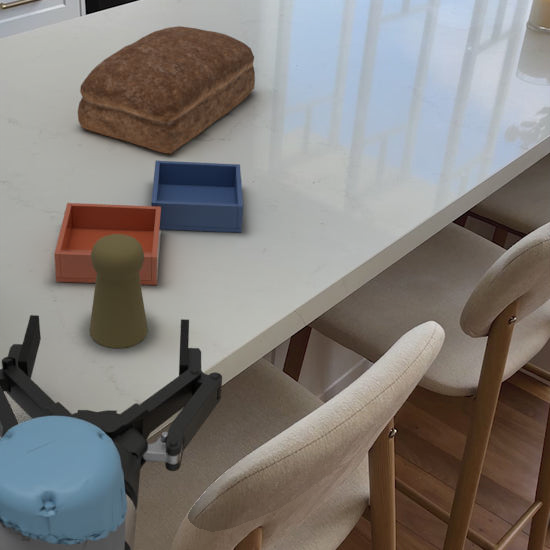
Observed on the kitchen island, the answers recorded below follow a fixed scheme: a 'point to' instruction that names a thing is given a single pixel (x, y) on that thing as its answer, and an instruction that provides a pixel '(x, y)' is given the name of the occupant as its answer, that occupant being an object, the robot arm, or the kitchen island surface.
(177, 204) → the blue bin
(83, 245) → the terracotta bin
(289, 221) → the kitchen island surface
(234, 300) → the kitchen island surface
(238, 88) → the bread
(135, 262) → the olive green pawn
